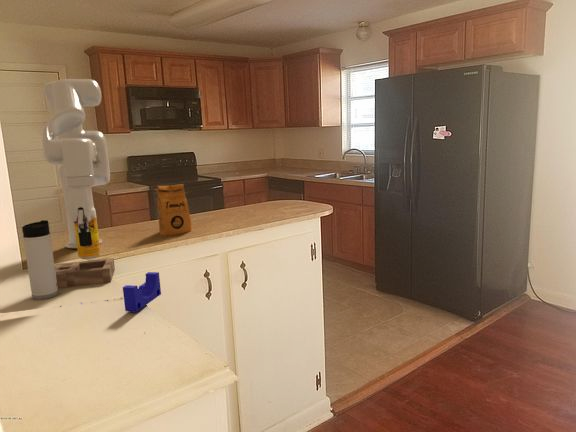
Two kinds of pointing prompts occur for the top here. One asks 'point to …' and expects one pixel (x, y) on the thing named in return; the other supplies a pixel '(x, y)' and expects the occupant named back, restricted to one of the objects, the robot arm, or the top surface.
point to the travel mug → (40, 260)
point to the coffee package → (173, 210)
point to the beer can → (94, 249)
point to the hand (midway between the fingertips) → (88, 242)
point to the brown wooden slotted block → (84, 272)
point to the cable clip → (142, 292)
